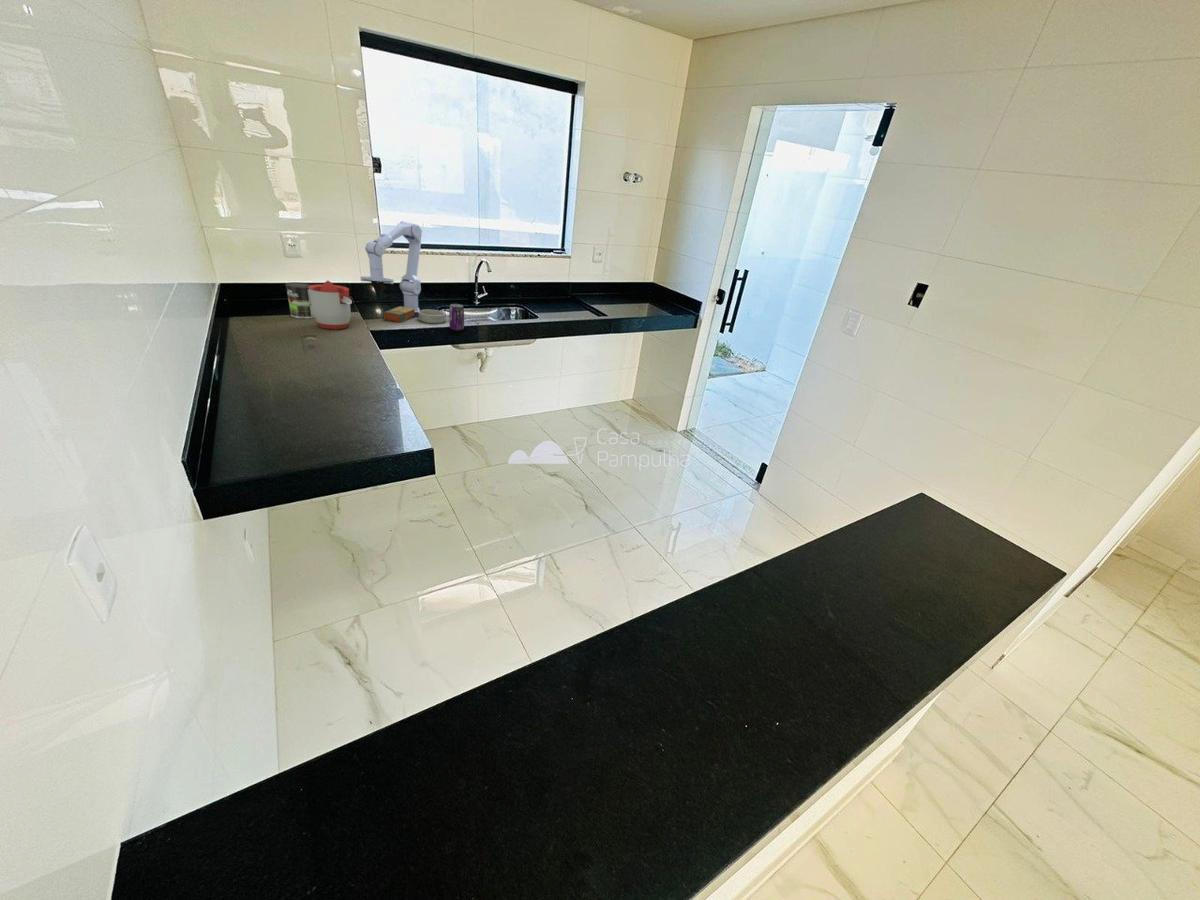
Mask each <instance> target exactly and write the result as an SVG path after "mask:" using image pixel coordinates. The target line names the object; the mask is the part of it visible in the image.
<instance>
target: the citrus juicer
mask: <svg viewBox="0 0 1200 900" xmlns="http://www.w3.org/2000/svg"><path fill="white" fill-rule="evenodd" d="M310 285H311V286H309V287H308V288H309V292H310V299H311V306H312V311H313V314H314V320H315V322H316V324H317V325H318V326H319V327H320V328H321V329H322V328H323V329H327V330H333V331H334V330H335V331H337V330H343V329H347V328H348V327H349V325H350V321H351V315H352V313H351V312H352V311H351V305H352V303H353V301H352V299H351V298H350V289H349V288H348V287H346V286H343V285H337V284H334V283H332V282H331V281H330V280H326V281H325V282H324V283H322V284H321V283H320V284H319V283H317V284H310Z"/></svg>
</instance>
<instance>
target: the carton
mask: <svg viewBox="0 0 1200 900" xmlns="http://www.w3.org/2000/svg"><path fill="white" fill-rule="evenodd" d="M415 313H416V312H414V309H413V308H408V307H404V306H396V307H393V308H391V309H388V310H386V311H384V312H383V320H384V321H388V322H389V321H390V322H395V323H402V322H404V321H407V320H409V319H411V318H414V317H415Z"/></svg>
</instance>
